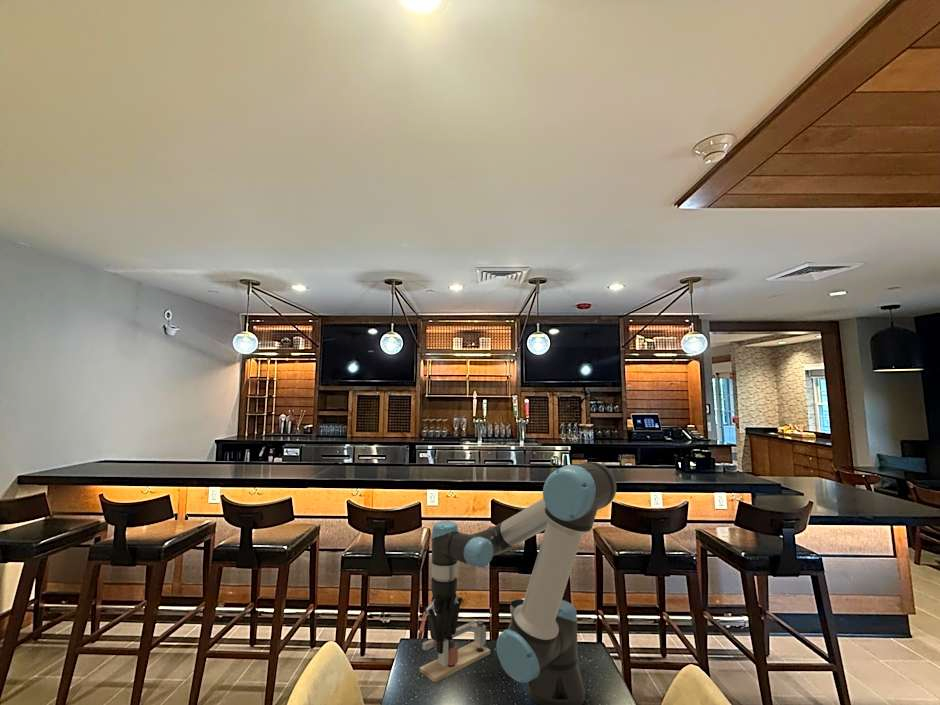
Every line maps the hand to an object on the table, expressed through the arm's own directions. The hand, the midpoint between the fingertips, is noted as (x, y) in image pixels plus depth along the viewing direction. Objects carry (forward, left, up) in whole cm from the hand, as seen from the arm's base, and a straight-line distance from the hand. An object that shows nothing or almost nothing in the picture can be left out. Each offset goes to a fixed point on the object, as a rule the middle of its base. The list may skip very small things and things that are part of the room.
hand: (443, 663), depth 130 cm
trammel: (+2, -6, -2) cm, 7 cm away
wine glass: (-9, -25, -3) cm, 26 cm away
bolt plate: (+2, -7, -3) cm, 7 cm away
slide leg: (+3, -3, -1) cm, 4 cm away
